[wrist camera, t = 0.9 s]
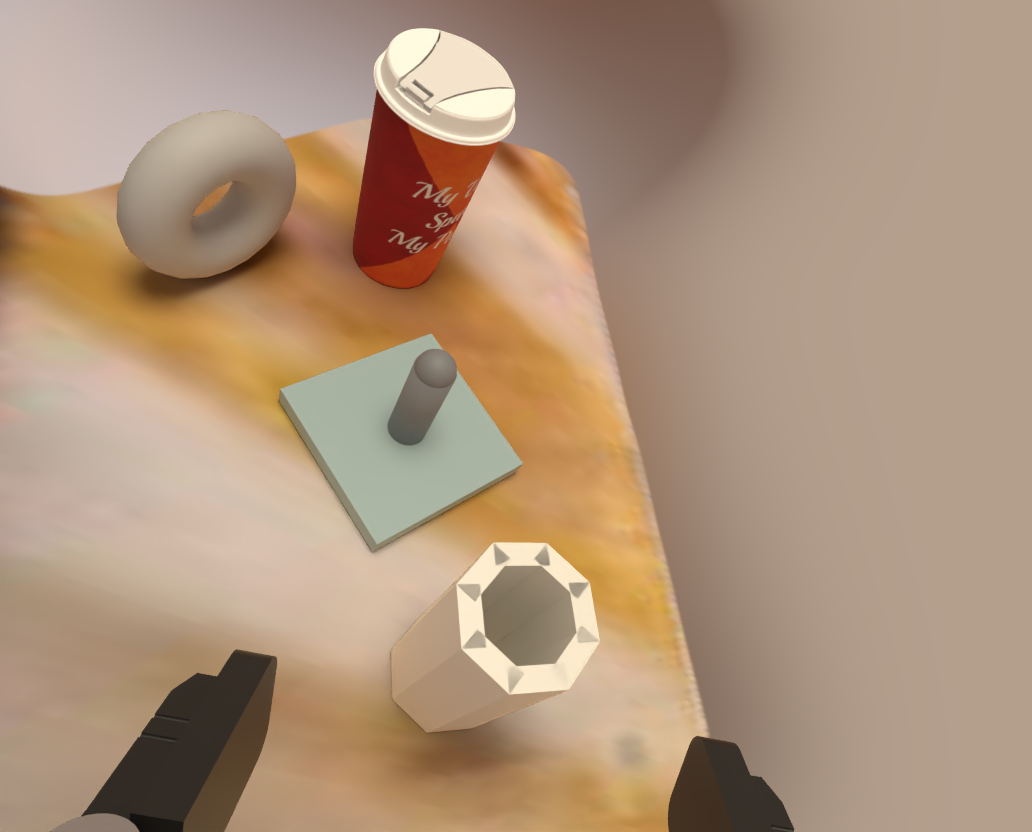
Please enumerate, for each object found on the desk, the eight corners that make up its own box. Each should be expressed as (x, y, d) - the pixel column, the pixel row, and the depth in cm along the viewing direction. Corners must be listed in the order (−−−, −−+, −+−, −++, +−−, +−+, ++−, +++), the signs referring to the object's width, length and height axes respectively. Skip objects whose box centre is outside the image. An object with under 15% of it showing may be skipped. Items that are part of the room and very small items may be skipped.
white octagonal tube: (367, 676, 32) (427, 616, 23) (440, 593, 35) (516, 515, 27) (451, 756, 32) (543, 727, 23) (517, 666, 35) (620, 610, 26)
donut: (264, 214, 44) (277, 76, 36) (299, 251, 43) (320, 119, 35) (112, 274, 38) (86, 124, 30) (151, 317, 37) (136, 177, 29)
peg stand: (278, 400, 38) (293, 308, 31) (426, 344, 43) (465, 256, 37) (372, 552, 35) (410, 487, 29) (515, 472, 41) (574, 403, 34)
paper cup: (403, 321, 43) (471, 144, 32) (310, 246, 44) (345, 46, 33) (471, 263, 48) (550, 92, 37) (387, 196, 48) (440, 6, 37)
